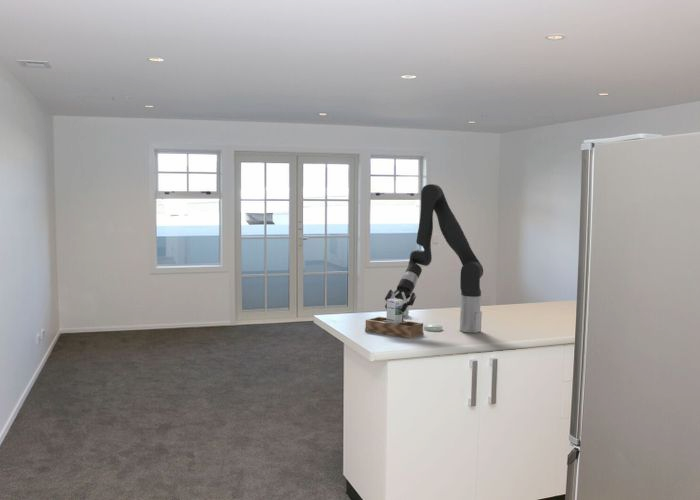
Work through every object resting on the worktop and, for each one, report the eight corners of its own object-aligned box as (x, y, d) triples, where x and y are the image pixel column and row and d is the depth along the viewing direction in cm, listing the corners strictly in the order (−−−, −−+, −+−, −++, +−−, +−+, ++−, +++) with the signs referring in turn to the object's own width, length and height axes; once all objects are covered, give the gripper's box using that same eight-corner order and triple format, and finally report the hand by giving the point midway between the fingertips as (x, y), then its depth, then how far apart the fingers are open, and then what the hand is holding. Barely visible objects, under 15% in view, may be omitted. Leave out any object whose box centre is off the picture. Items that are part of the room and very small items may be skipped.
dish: (445, 329, 326) (445, 325, 325) (436, 332, 318) (436, 328, 318) (429, 327, 331) (429, 323, 331) (420, 329, 324) (420, 325, 323)
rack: (423, 334, 313) (423, 323, 312) (408, 338, 302) (409, 327, 302) (380, 327, 327) (380, 316, 326) (364, 331, 316) (365, 320, 316)
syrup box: (394, 331, 310) (395, 300, 309) (385, 329, 315) (386, 298, 314) (403, 330, 314) (404, 299, 312) (395, 328, 318) (396, 297, 317)
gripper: (392, 276, 323) (378, 303, 315) (418, 279, 315) (404, 306, 306) (397, 286, 328) (384, 313, 319) (423, 289, 319) (410, 316, 311)
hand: (394, 310), depth 313 cm, fingers open, 8 cm apart
